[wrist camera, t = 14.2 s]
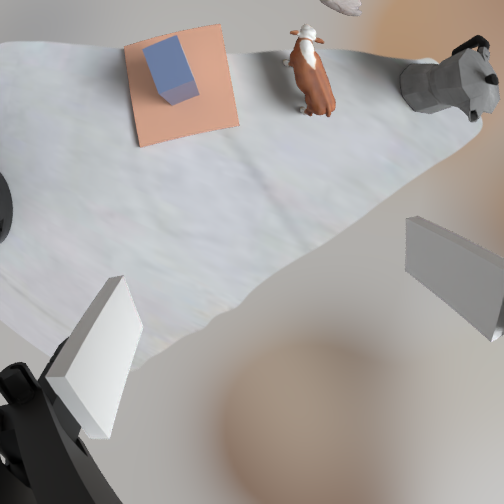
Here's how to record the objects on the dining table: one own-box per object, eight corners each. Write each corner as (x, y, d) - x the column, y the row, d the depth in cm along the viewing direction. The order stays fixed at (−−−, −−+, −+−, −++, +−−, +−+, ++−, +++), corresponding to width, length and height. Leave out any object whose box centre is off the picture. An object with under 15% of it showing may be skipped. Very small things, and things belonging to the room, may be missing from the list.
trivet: (141, 147, 39) (140, 147, 38) (125, 48, 34) (124, 46, 33) (239, 125, 40) (239, 125, 39) (220, 26, 34) (220, 23, 33)
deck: (158, 69, 35) (141, 49, 26) (185, 58, 35) (177, 34, 26) (172, 105, 37) (158, 94, 28) (200, 94, 37) (194, 79, 28)
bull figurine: (302, 36, 36) (319, 17, 28) (325, 118, 41) (347, 113, 33) (274, 39, 36) (286, 19, 28) (297, 123, 41) (314, 119, 33)
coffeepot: (430, 134, 43) (508, 140, 26) (389, 108, 41) (466, 101, 24) (447, 64, 38) (518, 52, 22) (408, 36, 36) (477, 10, 20)
